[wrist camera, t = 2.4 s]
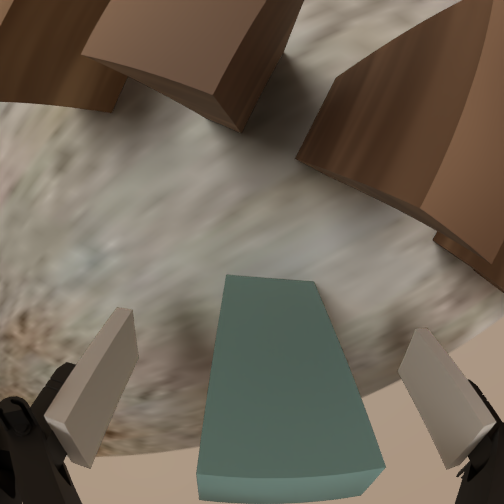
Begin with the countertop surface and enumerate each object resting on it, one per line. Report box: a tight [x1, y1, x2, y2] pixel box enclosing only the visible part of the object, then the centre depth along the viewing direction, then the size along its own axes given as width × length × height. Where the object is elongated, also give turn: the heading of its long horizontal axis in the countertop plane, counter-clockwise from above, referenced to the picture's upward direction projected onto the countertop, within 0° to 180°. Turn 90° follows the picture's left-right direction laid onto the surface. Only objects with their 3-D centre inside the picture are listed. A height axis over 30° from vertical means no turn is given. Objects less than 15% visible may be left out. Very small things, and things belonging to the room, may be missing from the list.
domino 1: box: [81, 0, 304, 133], centre depth 8 cm, size 2×5×12 cm, turn 155°
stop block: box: [0, 0, 128, 113], centre depth 8 cm, size 3×8×10 cm, turn 155°
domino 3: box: [295, 0, 504, 264], centre depth 9 cm, size 2×5×12 cm, turn 155°
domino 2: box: [196, 275, 386, 504], centre depth 12 cm, size 2×5×12 cm, turn 85°
